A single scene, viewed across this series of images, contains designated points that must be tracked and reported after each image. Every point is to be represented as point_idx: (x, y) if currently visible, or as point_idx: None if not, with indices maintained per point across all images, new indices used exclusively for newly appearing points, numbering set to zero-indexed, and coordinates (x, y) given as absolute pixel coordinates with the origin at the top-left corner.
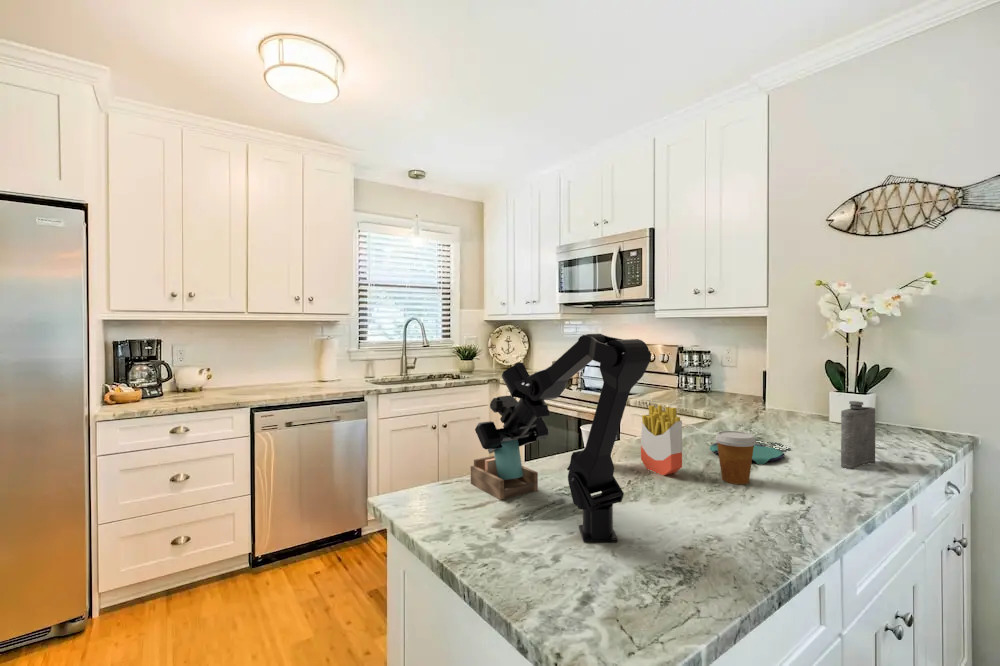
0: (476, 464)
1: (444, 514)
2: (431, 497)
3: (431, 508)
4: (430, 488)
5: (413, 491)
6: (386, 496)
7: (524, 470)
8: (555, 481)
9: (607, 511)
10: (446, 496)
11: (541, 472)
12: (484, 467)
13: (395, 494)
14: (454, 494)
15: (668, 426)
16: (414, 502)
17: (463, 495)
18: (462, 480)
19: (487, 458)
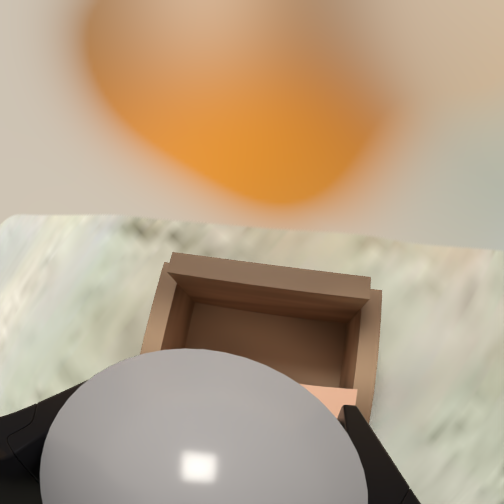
0: (178, 280)
1: (2, 411)
2: (41, 298)
3: (4, 358)
4: (83, 237)
5: (51, 228)
6: (15, 219)
7: None
8: (446, 482)
9: None
10: (62, 325)
11: (481, 369)
12: (229, 295)
13: (26, 219)
14: (83, 332)
15: None
16: (9, 294)
17: (93, 362)
18: (192, 242)
19: (243, 283)
